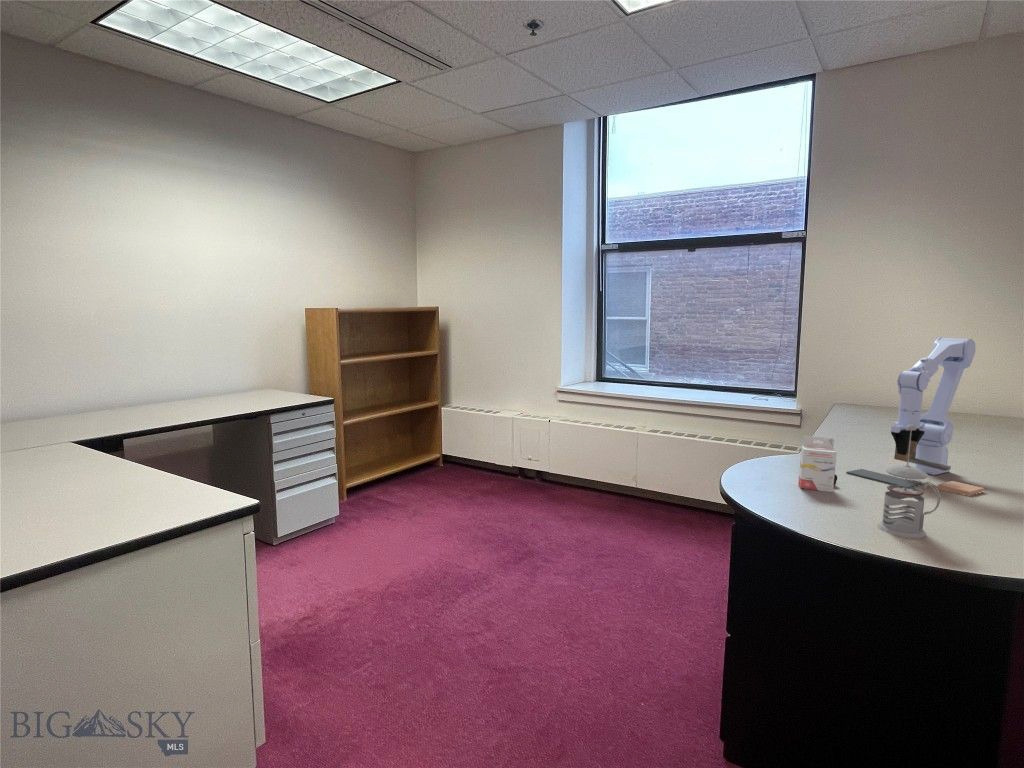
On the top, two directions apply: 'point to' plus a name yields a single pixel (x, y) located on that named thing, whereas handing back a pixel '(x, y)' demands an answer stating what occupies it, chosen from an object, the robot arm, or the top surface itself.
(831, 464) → the ink cartridge box
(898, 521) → the french press
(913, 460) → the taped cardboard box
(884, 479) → the tool mat
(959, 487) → the tile
